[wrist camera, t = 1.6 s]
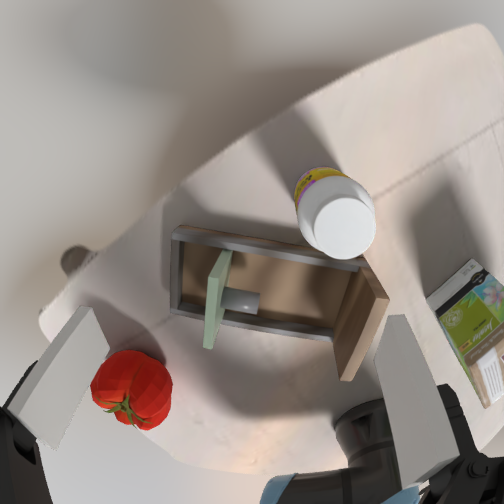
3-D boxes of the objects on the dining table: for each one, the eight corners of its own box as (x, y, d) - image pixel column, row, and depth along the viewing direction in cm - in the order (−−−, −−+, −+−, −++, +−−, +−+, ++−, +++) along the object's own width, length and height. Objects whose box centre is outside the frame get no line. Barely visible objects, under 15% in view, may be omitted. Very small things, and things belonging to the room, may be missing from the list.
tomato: (102, 357, 46) (72, 399, 35) (137, 324, 41) (102, 374, 30) (154, 399, 49) (134, 445, 38) (198, 375, 44) (179, 430, 33)
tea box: (422, 299, 35) (468, 369, 21) (471, 255, 31) (532, 308, 18) (451, 351, 38) (485, 412, 24) (493, 315, 34) (536, 368, 21)
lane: (364, 258, 33) (390, 299, 24) (339, 329, 38) (351, 381, 28) (180, 225, 34) (145, 256, 25) (177, 301, 39) (149, 346, 29)
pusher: (267, 253, 33) (262, 286, 26) (255, 315, 36) (248, 356, 29) (224, 245, 33) (208, 276, 26) (217, 308, 37) (203, 347, 29)
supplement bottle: (301, 159, 30) (314, 170, 18) (357, 175, 30) (401, 198, 18) (286, 215, 33) (289, 260, 21) (341, 229, 32) (370, 280, 21)
